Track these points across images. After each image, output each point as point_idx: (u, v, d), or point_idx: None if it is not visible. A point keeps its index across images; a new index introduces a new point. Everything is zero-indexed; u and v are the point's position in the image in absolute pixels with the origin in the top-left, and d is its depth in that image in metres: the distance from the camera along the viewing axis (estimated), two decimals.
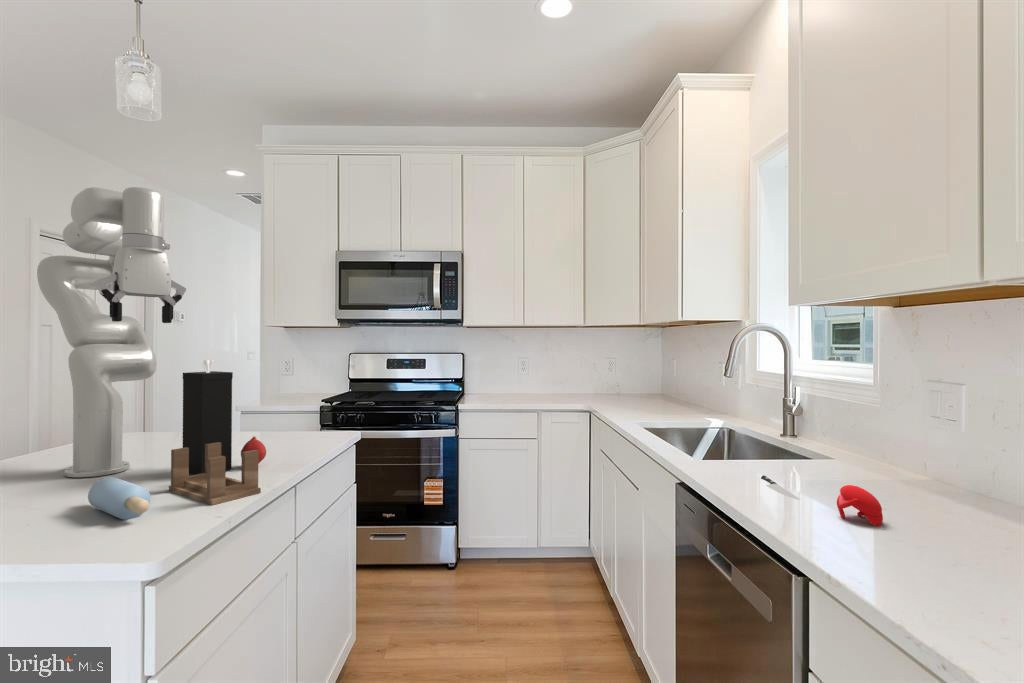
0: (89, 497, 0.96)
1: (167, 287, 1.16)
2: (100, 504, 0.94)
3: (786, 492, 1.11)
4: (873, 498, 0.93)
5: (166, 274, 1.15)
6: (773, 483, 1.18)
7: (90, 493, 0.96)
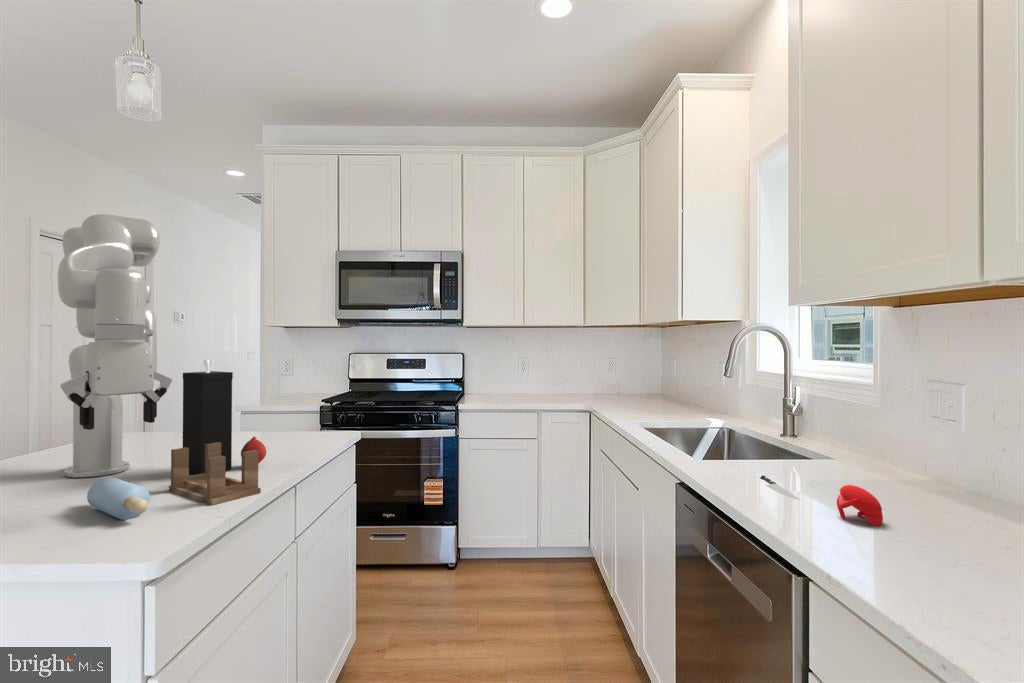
0: (88, 498, 0.96)
1: (149, 381, 0.99)
2: (99, 505, 0.93)
3: (785, 492, 1.11)
4: (873, 498, 0.93)
5: (148, 367, 0.98)
6: (772, 483, 1.18)
7: (89, 494, 0.96)
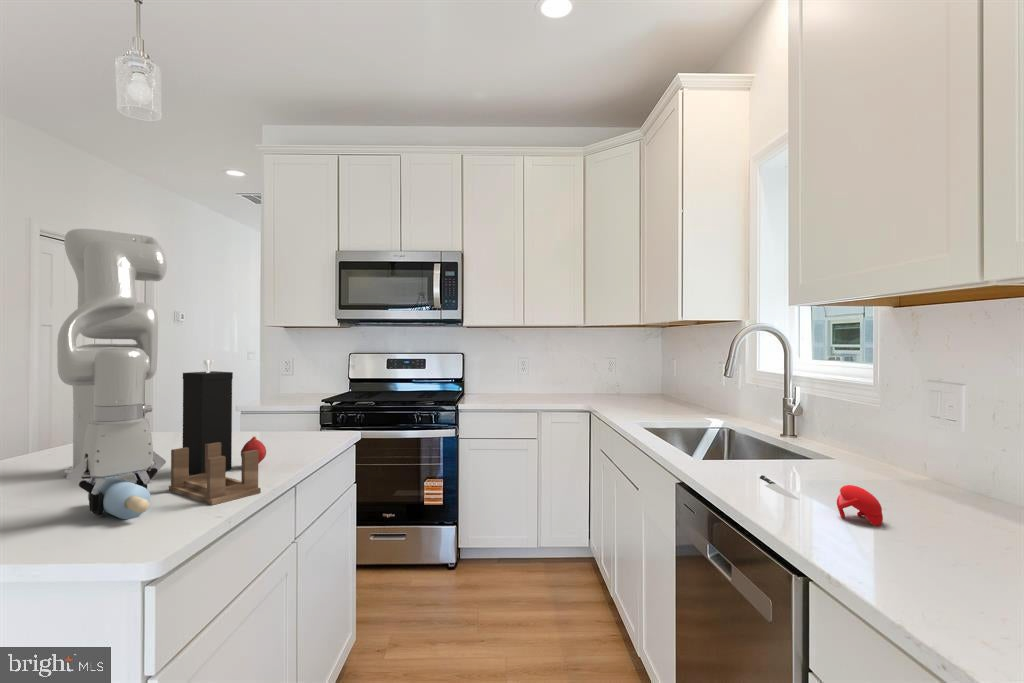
0: None
1: (149, 458, 0.99)
2: None
3: (785, 492, 1.11)
4: (873, 498, 0.93)
5: (147, 444, 0.98)
6: (772, 483, 1.18)
7: None
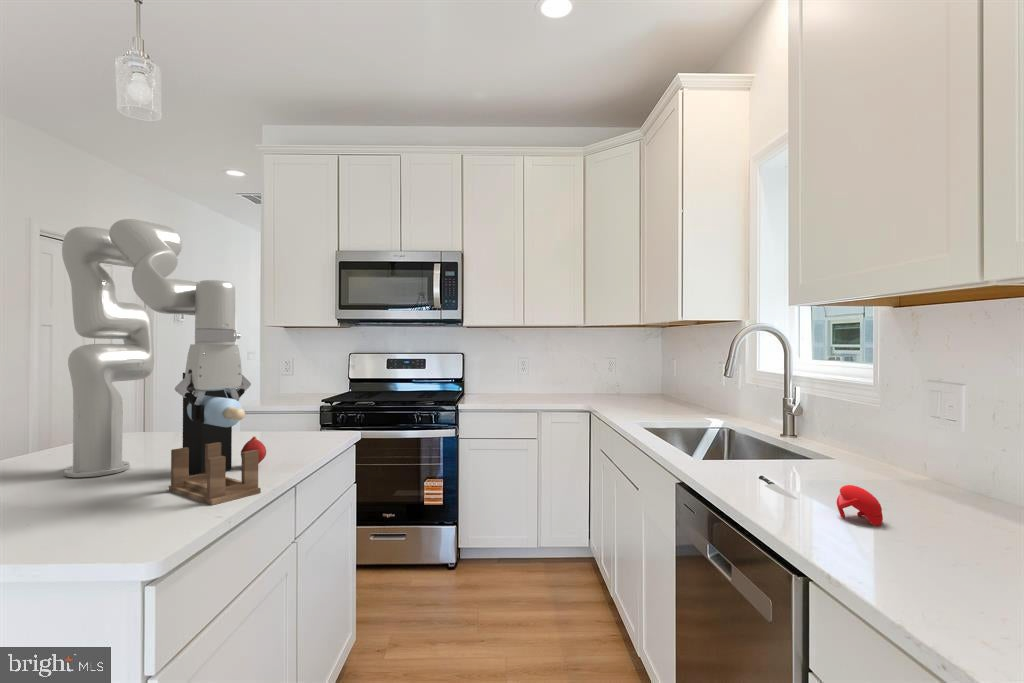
0: (188, 410, 1.10)
1: (238, 378, 1.12)
2: None
3: (784, 492, 1.11)
4: (873, 498, 0.93)
5: (237, 366, 1.12)
6: (771, 483, 1.18)
7: (190, 407, 1.10)
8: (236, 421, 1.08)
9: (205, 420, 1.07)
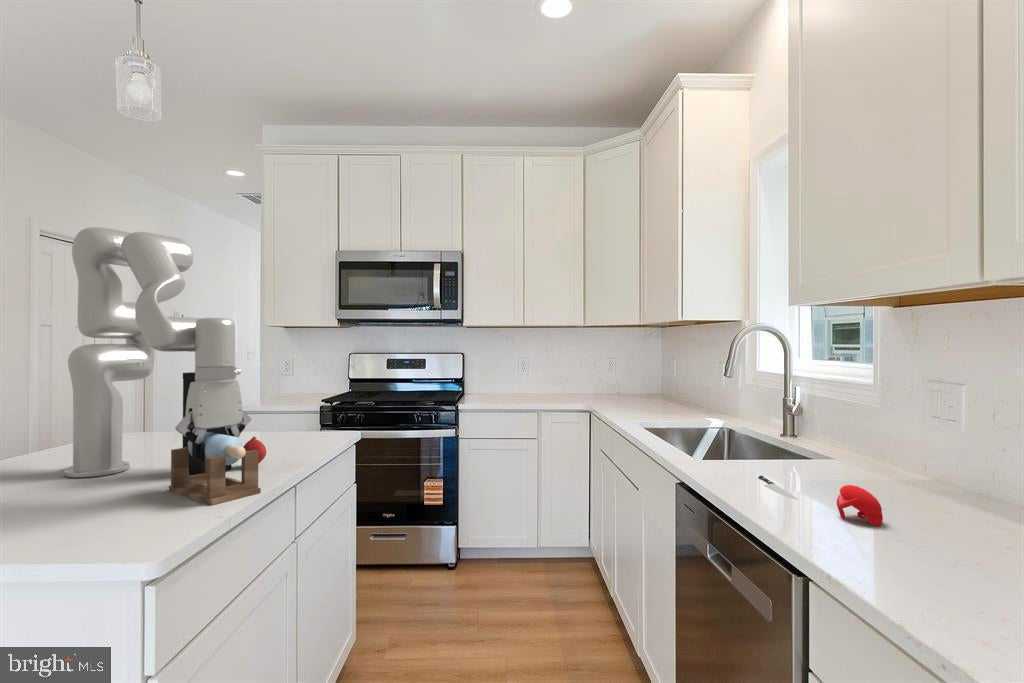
0: (189, 448, 1.10)
1: (239, 415, 1.12)
2: None
3: (784, 492, 1.11)
4: (873, 498, 0.93)
5: (238, 402, 1.12)
6: (771, 483, 1.18)
7: (190, 444, 1.10)
8: (237, 458, 1.08)
9: (206, 458, 1.07)
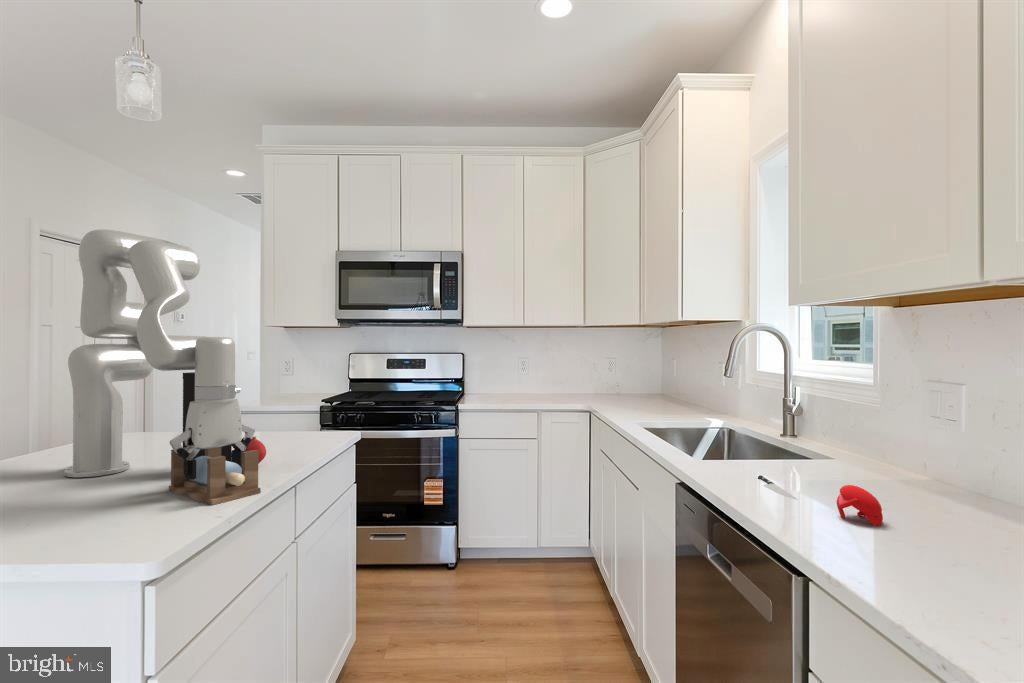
0: None
1: (238, 433, 1.12)
2: (200, 478, 1.07)
3: (784, 492, 1.11)
4: (873, 498, 0.93)
5: (237, 421, 1.12)
6: (770, 483, 1.18)
7: None
8: None
9: (205, 484, 1.07)
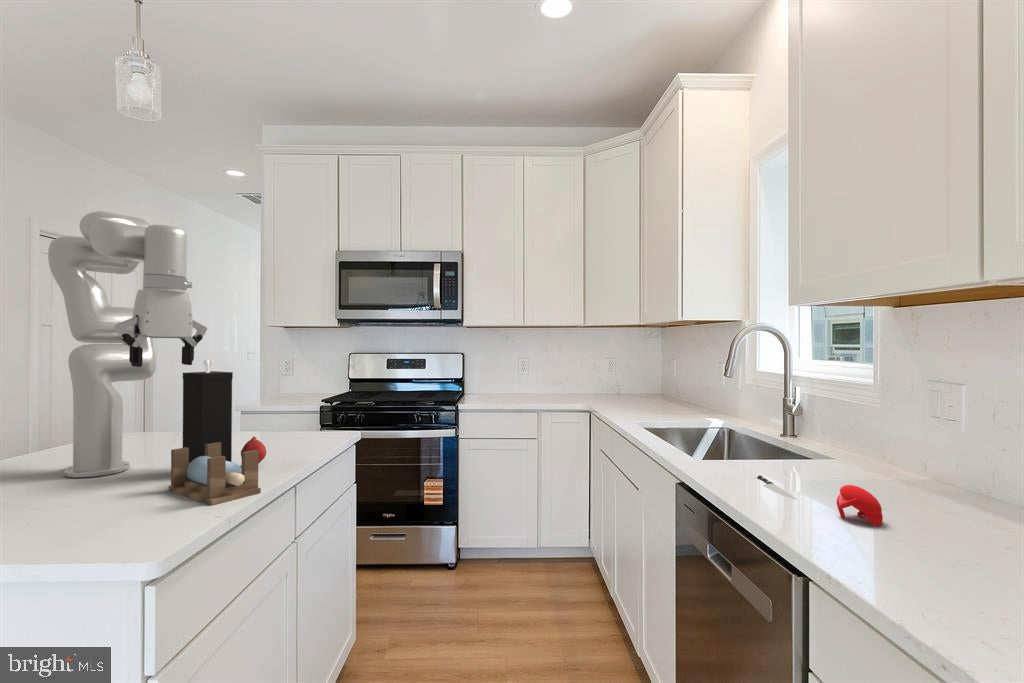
0: (188, 473, 1.10)
1: (189, 328, 1.11)
2: (200, 478, 1.07)
3: (783, 492, 1.11)
4: (873, 498, 0.93)
5: (188, 315, 1.10)
6: (770, 483, 1.18)
7: (189, 470, 1.10)
8: None
9: (205, 484, 1.07)
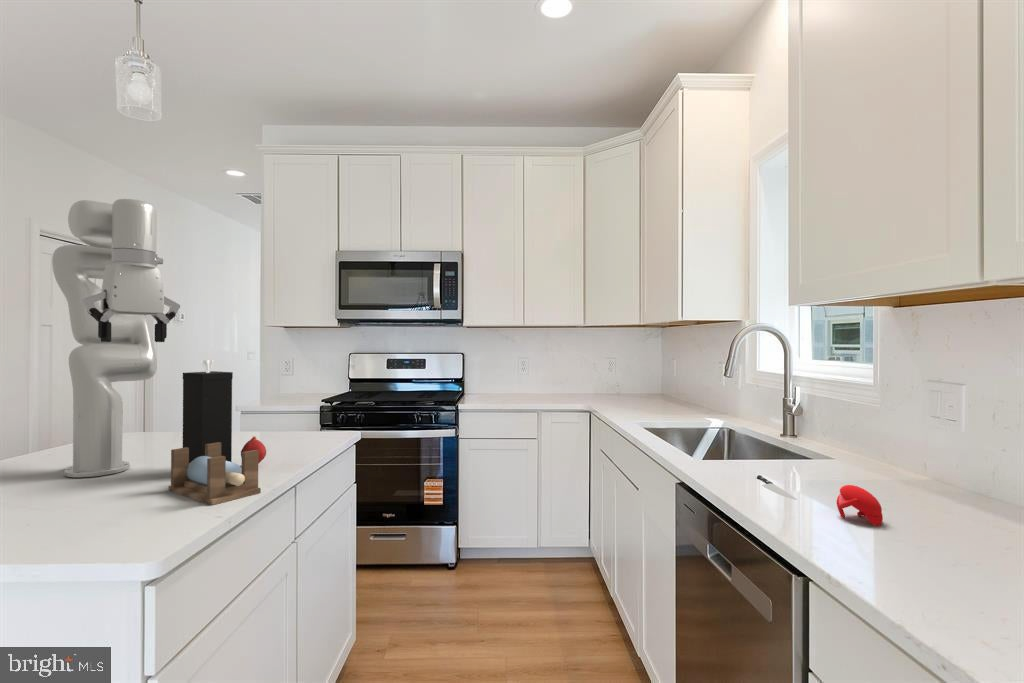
0: (188, 473, 1.10)
1: (160, 304, 1.09)
2: (200, 478, 1.07)
3: (783, 492, 1.11)
4: (873, 498, 0.93)
5: (159, 291, 1.09)
6: (769, 483, 1.18)
7: (189, 469, 1.10)
8: None
9: (205, 484, 1.07)
